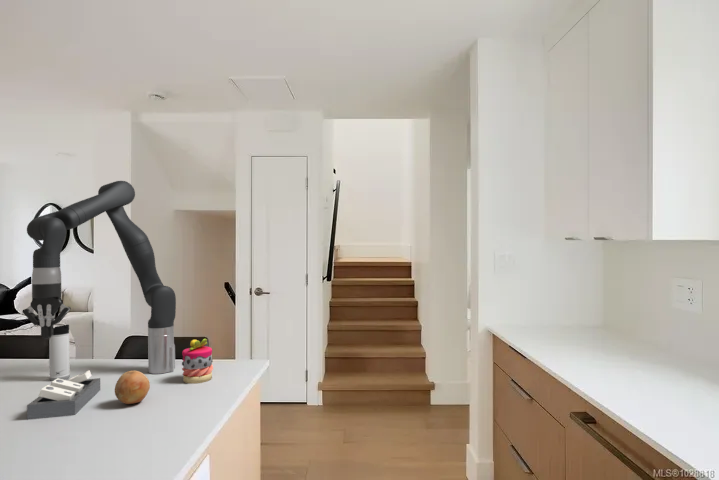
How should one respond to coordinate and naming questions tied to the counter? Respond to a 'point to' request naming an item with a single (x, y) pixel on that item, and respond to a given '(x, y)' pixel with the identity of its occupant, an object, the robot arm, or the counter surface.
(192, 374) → the cake
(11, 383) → the counter surface
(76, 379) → the rocker
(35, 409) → the power strip
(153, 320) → the robot arm
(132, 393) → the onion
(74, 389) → the rocker middle
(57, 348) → the travel mug
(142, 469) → the counter surface
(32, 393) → the counter surface
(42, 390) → the rocker
